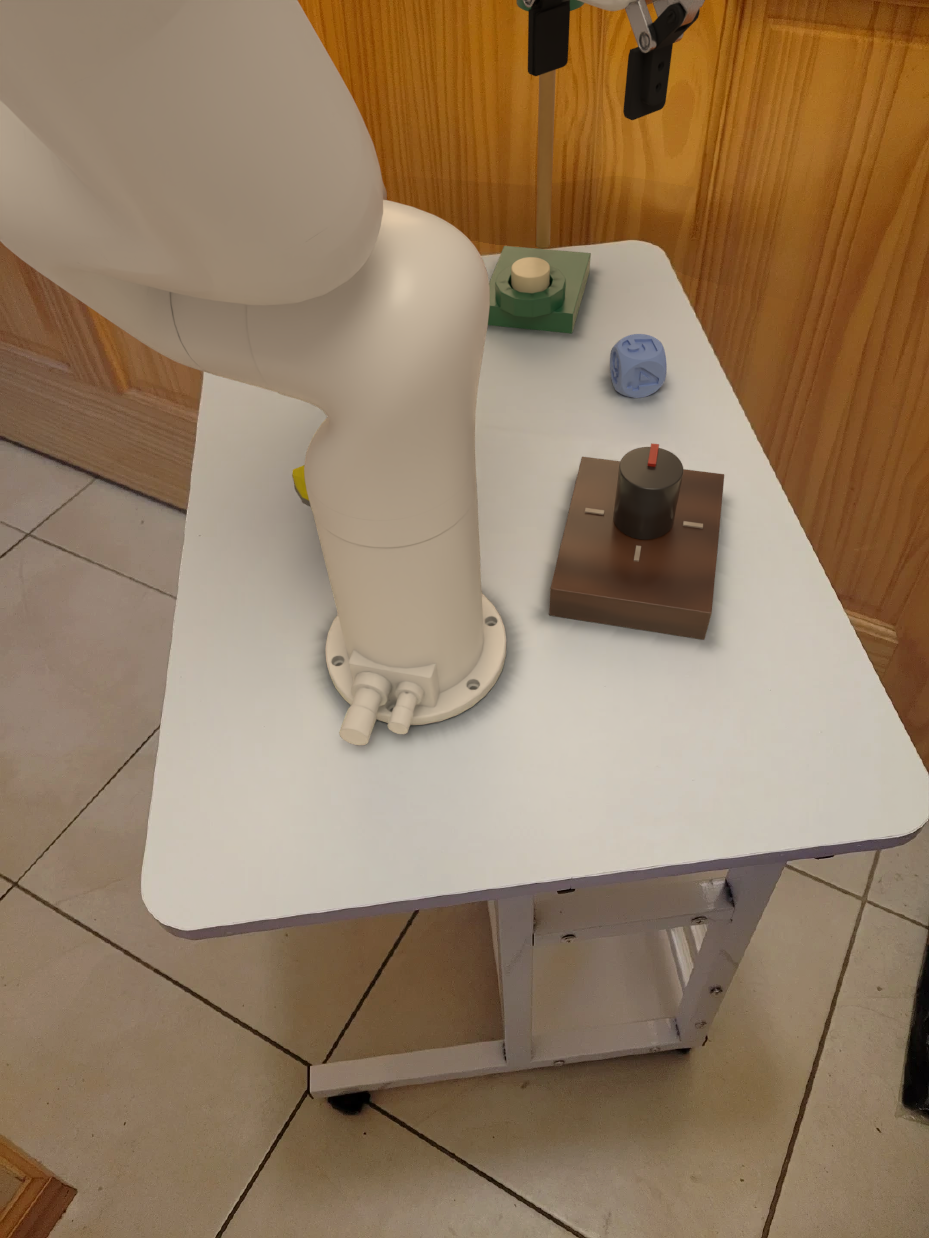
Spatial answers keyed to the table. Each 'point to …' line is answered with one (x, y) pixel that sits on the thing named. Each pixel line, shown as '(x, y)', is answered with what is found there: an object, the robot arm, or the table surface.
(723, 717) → the table surface
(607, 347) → the table surface
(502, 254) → the lamp base
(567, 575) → the dimmer panel
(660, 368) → the decorative dice
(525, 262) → the lamp switch
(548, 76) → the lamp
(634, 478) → the dimmer knob
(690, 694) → the table surface
